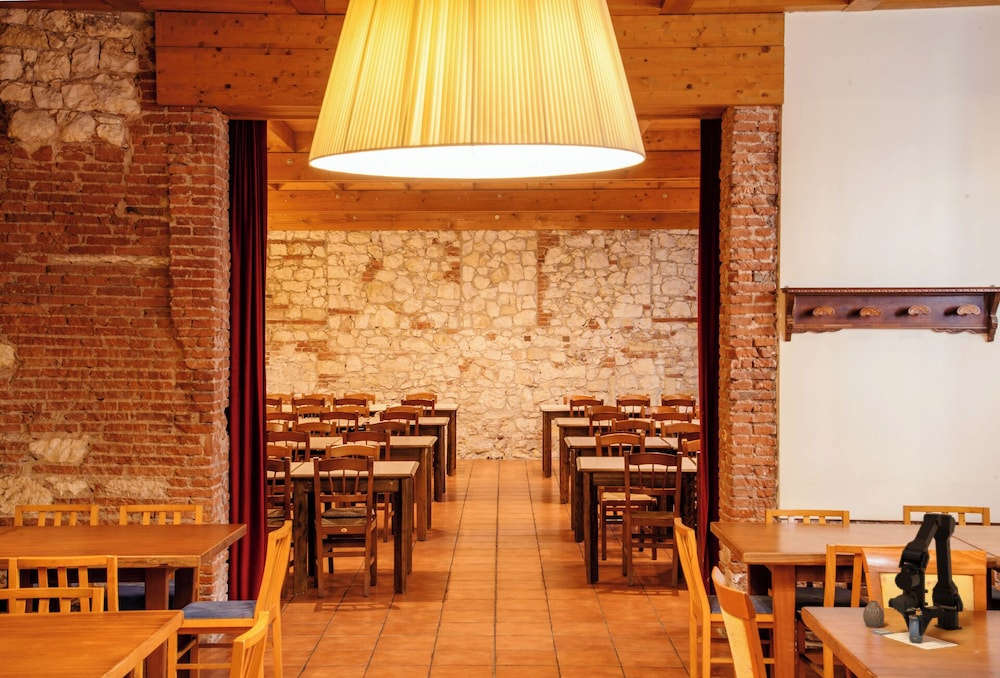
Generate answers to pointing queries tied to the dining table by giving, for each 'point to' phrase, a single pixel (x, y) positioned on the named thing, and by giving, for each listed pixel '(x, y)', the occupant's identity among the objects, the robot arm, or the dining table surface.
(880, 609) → the vase
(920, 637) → the grey capped bottle
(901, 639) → the paper
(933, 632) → the dining table surface
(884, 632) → the grey striped tile
